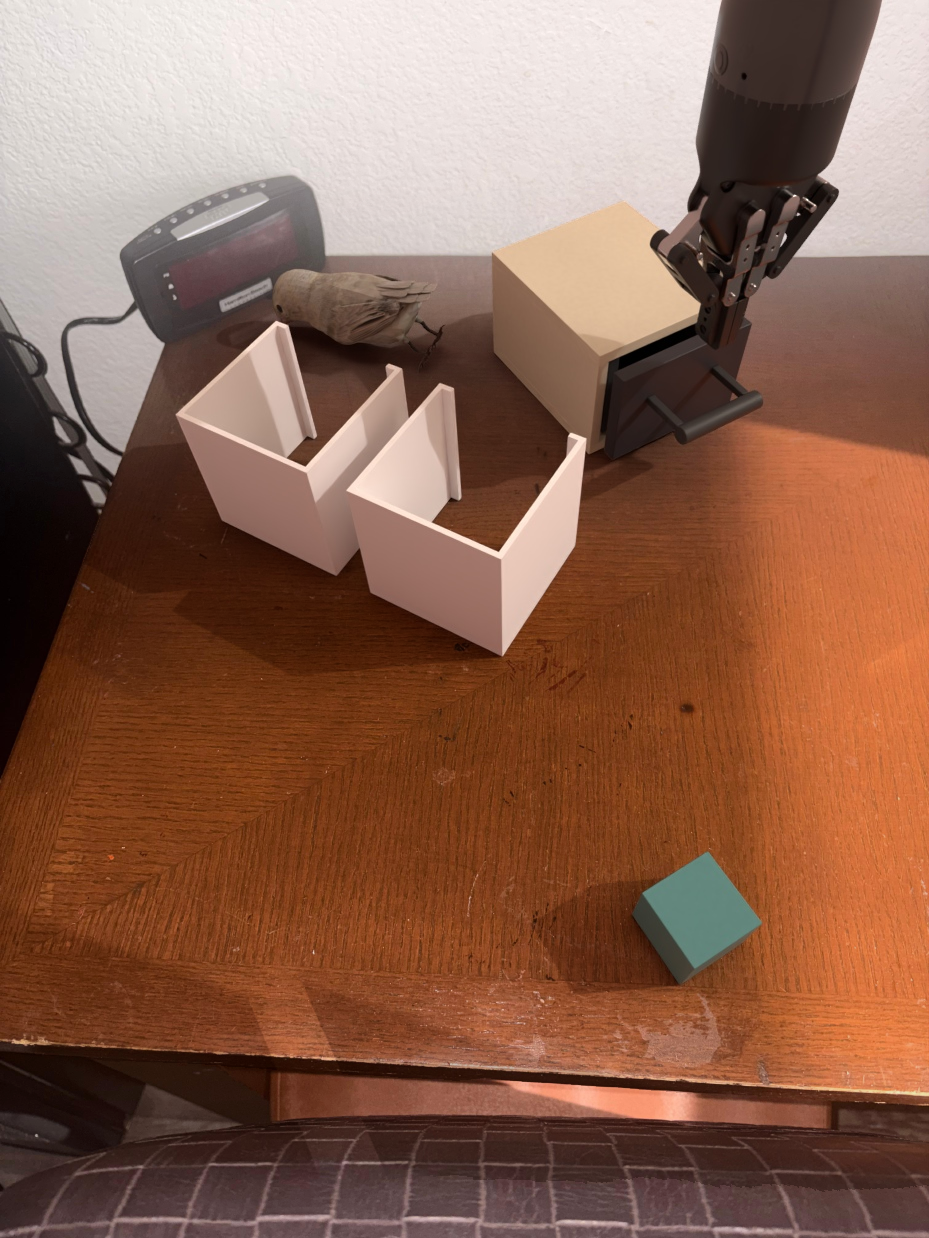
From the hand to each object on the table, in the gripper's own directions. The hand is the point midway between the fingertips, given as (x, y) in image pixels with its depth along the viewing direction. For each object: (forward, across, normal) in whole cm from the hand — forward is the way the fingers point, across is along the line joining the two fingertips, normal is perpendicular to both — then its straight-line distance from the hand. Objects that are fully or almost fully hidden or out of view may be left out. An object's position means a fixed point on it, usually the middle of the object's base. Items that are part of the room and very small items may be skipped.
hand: (715, 339), depth 58 cm
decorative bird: (+12, -16, +27) cm, 33 cm away
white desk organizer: (+12, -23, +6) cm, 27 cm away
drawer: (+10, 0, +6) cm, 12 cm away
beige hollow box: (+11, 0, +12) cm, 16 cm away
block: (+11, -22, -29) cm, 38 cm away
